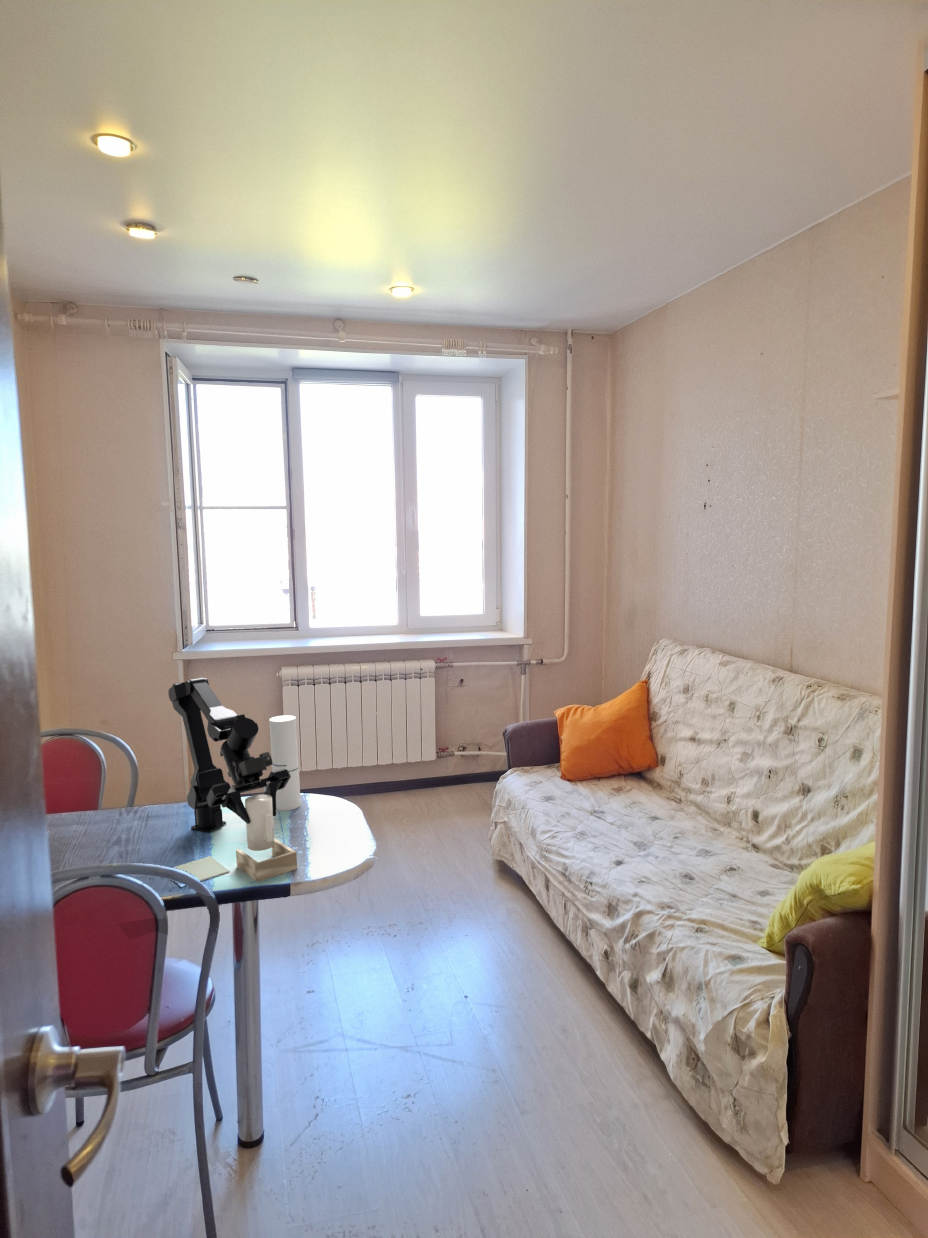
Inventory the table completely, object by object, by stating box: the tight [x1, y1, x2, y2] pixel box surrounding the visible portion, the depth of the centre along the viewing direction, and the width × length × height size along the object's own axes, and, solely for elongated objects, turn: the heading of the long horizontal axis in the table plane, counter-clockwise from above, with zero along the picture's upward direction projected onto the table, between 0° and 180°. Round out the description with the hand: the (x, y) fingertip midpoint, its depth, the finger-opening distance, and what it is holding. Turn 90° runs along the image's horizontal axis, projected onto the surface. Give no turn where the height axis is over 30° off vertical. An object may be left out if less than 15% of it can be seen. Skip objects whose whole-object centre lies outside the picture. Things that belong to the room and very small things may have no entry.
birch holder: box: [235, 837, 298, 883], centre depth 174 cm, size 11×10×4 cm
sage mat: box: [173, 855, 231, 882], centre depth 173 cm, size 11×11×1 cm
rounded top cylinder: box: [244, 793, 275, 852], centre depth 174 cm, size 8×6×11 cm
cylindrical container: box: [268, 714, 302, 811], centre depth 212 cm, size 7×7×25 cm
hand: (262, 819), depth 173 cm, fingers closed on rounded top cylinder, 6 cm apart
